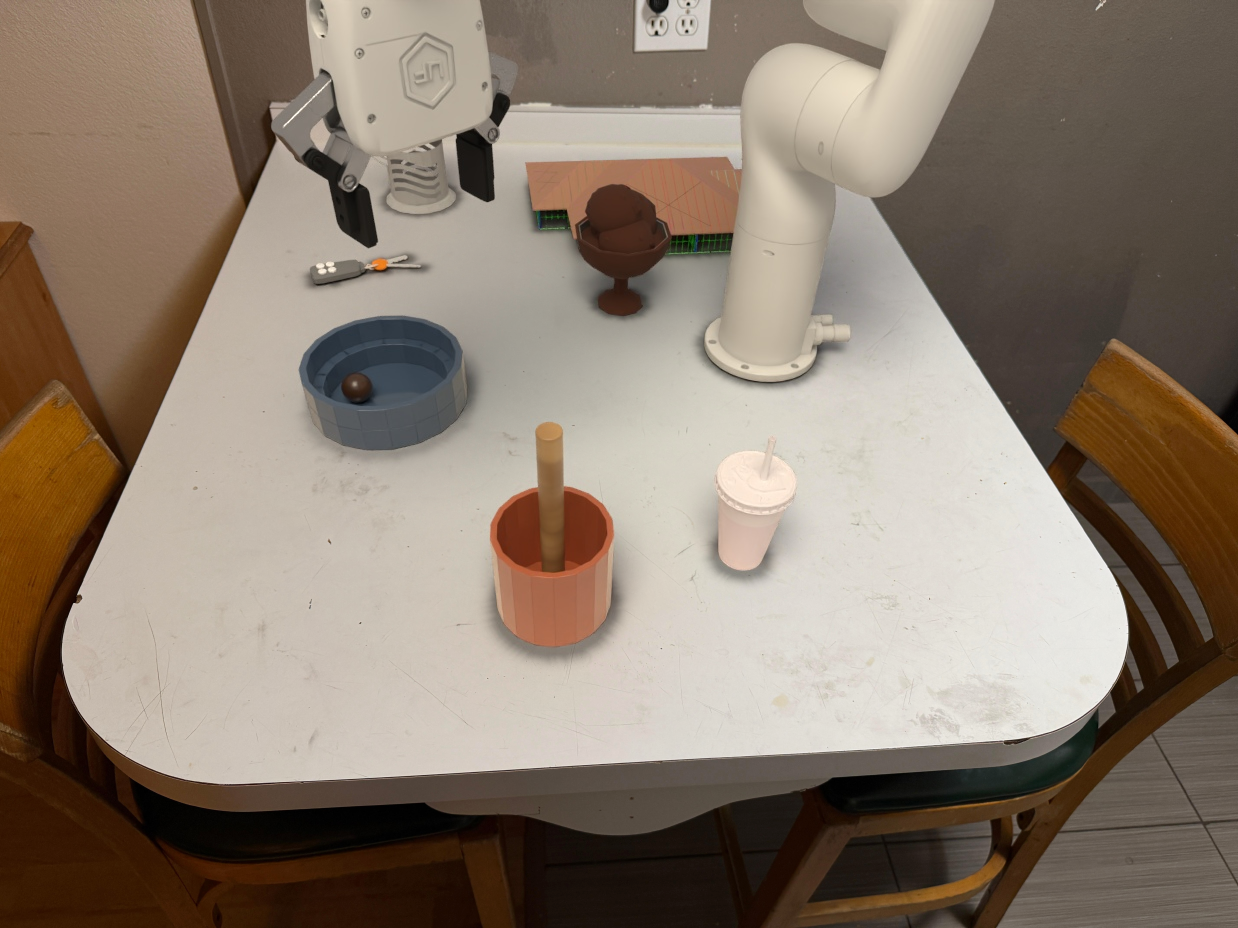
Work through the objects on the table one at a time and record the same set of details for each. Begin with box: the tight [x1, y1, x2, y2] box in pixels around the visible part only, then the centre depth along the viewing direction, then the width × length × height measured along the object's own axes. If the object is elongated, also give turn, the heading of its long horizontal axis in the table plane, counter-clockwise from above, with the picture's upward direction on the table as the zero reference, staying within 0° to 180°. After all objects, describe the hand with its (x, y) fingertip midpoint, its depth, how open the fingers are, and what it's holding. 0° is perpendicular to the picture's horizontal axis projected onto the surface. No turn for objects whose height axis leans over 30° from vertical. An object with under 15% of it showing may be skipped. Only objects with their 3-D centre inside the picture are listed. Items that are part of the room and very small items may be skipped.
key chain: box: [309, 254, 422, 285], centre depth 101 cm, size 13×4×2 cm, turn 114°
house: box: [524, 156, 742, 255], centre depth 112 cm, size 23×33×8 cm
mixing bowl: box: [298, 314, 468, 451], centre depth 81 cm, size 15×15×6 cm
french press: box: [371, 139, 457, 215], centre depth 107 cm, size 10×12×25 cm
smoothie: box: [713, 435, 798, 571], centre depth 65 cm, size 6×6×14 cm
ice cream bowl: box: [575, 184, 673, 317], centre depth 93 cm, size 11×11×15 cm
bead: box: [341, 373, 373, 403], centre depth 81 cm, size 3×3×3 cm
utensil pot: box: [489, 485, 615, 648], centre depth 63 cm, size 9×9×9 cm
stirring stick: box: [534, 421, 565, 573], centre depth 59 cm, size 2×2×18 cm
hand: (422, 216), depth 56 cm, fingers open, 9 cm apart
